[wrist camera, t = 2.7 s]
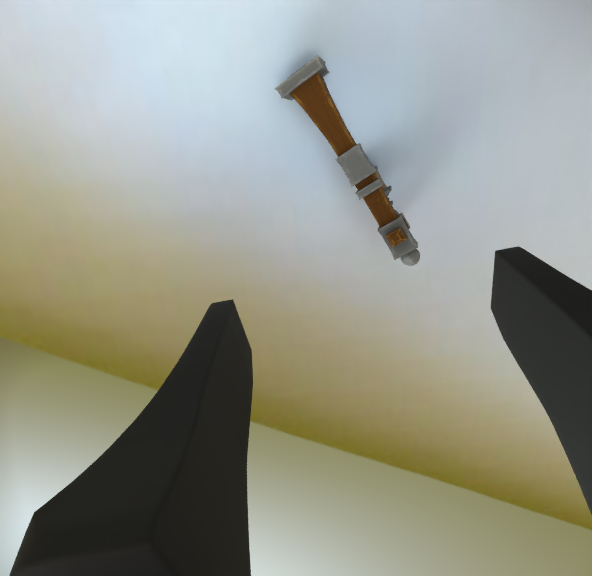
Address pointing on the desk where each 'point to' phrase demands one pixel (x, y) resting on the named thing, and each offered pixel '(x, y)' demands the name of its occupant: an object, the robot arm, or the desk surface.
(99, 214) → the desk surface
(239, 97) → the desk surface
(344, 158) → the wooden post with brackets
